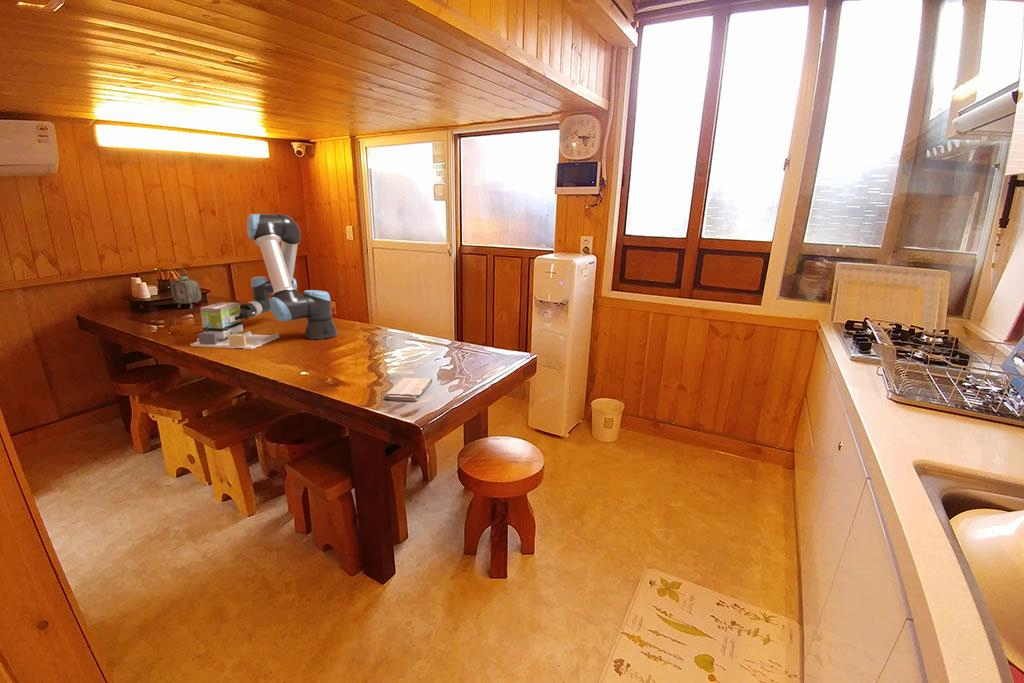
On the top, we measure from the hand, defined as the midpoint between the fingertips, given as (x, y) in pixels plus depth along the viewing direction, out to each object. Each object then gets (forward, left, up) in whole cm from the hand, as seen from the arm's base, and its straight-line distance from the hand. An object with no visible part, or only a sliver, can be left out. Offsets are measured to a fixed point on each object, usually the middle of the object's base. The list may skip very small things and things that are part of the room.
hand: (218, 319), depth 213 cm
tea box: (0, -2, -8) cm, 8 cm away
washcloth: (-111, +45, -11) cm, 120 cm away
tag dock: (-8, 0, -11) cm, 13 cm away
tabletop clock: (+75, -64, -11) cm, 100 cm away
